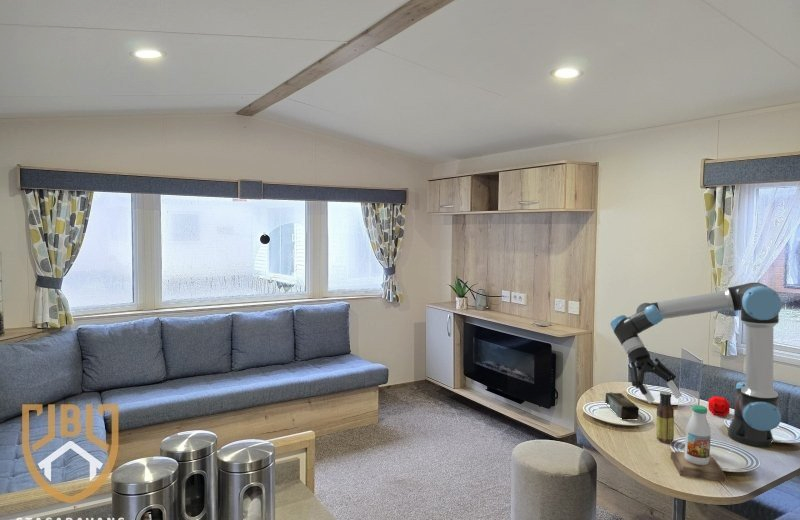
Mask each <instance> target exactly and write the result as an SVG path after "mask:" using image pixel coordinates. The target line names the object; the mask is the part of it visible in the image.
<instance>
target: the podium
mask: <svg viewBox="0 0 800 520" xmlns="http://www.w3.org/2000/svg"><path fill="white" fill-rule="evenodd" d="M670 459H671V461H672V462H673V464H674V466H675V469H676V470H677V473H678V474H679V476H681V477H689V478H696V479H705V480H713V481H714V480H715V481H721V482H726V477H727V475H726V473H725V472H724V471H723V469H722V468H721V467H720V465H719V464H718V462H717V461H716V460H715V458H714V457H713V456H712V455H711V454H710V456H709V463H708V464H707V465H696V464H693V463H690V462H688V461H687V460H686V459H685V451H677V450H676V451H675V450H674V452H672V451H671V452H670Z"/></svg>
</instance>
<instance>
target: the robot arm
mask: <svg viewBox="0 0 800 520" xmlns="http://www.w3.org/2000/svg"><path fill="white" fill-rule="evenodd" d="M726 310H730V311H732V312H737V311H740V321H741V322H742V323H743V324H744V325H745V381H738V382H737V383H736V385H735V397H734V414H733V415H734V416H733V418H732V421H730V425H729V426H728V429H727V435H728V437H729V438H730V439H732V440H734V441H736V442H738V443H741V444H744V445H748V446H752V447H760V448H763V447H764V448H765V447H770V446H772V445H773V444H772V443H771V441H772V440H773V441H774V437H773V433H772V430H774V429H776V428H777V427H778V426H779V425H780V423H781V420H782V414H781V411H780V409H779V393H778V392H777V391H776V390H775V389H774V327H775V326H776V325H778V324H779V323H780V322H779V320H780V319H779V314H780V312H781V310H782V298H781V296H780V295H779V293H777V292H776V291H775V290H774V289H773V288H771V287H769V286H767V285H765V284H764V283H760V282H748V283H744V284H743V283H742V284H739V285H735V286H730V287H726V288H725V289H724V290H721V291H717V292H716V291H715V292H709V293H704V294H703V293H702V294H698V295H691V296H686V297H685V296H684V297H681V298H676V299H675V298H674V299H673V298H672V299H669V300H663V301H662V300H661V301H657V302H643V303H641V304H639V306H637V308H636V312H635V313H634V314H632V315H631V316H626V315H625V314H621V315H618V316H615V317H614V318H613V319H611V321H610V322H609V323H610V324H609V325H610V327H611V329H612V331H613V334H614V335H615V336H616V338H617V339H618V341H619V343H620V345H621V346H622V347H623V349H624V351H625V353H626V354H627V355H628V358H629V360H630V363H628V364H627V367H628V368H629V372H630V379H631V380H630V381H631V386H632V387H635V388H636V389H638V390H639V391H640V393H641V394H642V395H644V397H645V399H646V401H647V403H648V404H652V403H653V402H654V401H655V398H654V397H653V395H652V393H651V391H650V390H649V388H648V386H647V385H646V384H645V383H644V382H645V381H644V380H645V373H652V374H655V375H656V376H658V377H659V378H661V379H662V380H663V381H665V382H666V385H667V386H668V388H669V390H670V391H671V394H673V396H674V399H679V398H680V397H682V395H683V394H682V393H681V391H680V390H679V388H678V385H677V383H676V382H675V381H674V380H675V379H676V378H677V376H676V375H675V374H674V373H673V372H672V371H671V370H670V369H669V368H668V367H666V365H664V364H663V363H662V362H661V361H660V360H659V358H657V357H656V358H654V359H652V358H651V354H650V352H649V351H648V349H647V347H645V344H644V343H643V341H642V338H640V336H639V335H638V334H640V333H642V332H643V331H646V330H647V329H648V330H649V329H650V328H652V327H654V326H656V325H658V324H659V323H661V322H662V321H664V320H666V319H673V318H680V317H686V316H687V317H688V316H691V315H700V314H704V313H706V314H707V313H712V312H719V311H720V312H721V311H726Z"/></svg>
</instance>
